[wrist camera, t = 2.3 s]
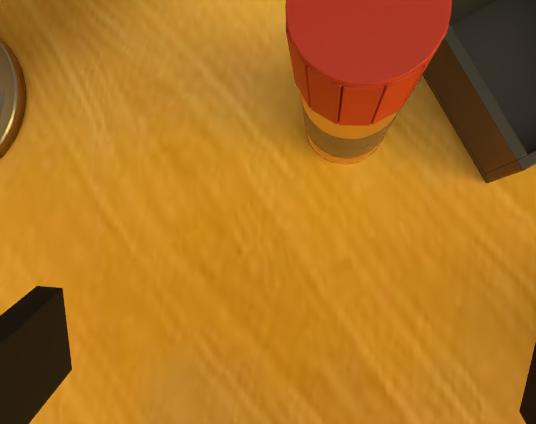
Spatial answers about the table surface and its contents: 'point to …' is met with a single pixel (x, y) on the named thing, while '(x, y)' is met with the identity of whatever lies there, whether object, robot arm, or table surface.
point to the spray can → (343, 137)
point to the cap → (362, 53)
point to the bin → (490, 82)
